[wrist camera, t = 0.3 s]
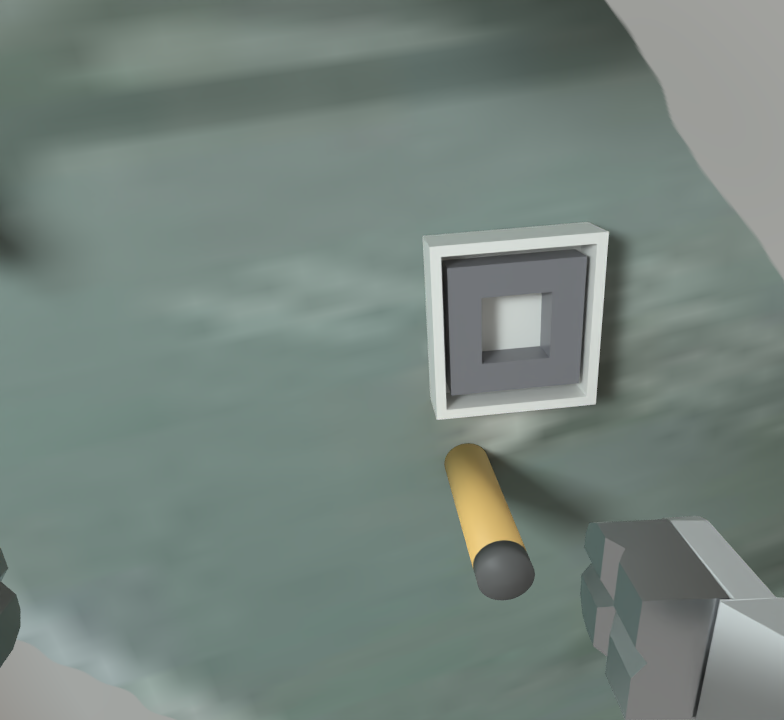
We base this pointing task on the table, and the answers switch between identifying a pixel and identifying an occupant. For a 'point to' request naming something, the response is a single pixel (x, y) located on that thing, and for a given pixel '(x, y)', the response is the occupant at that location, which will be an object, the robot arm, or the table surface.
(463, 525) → the cylinder
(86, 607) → the table surface
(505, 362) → the walled box
